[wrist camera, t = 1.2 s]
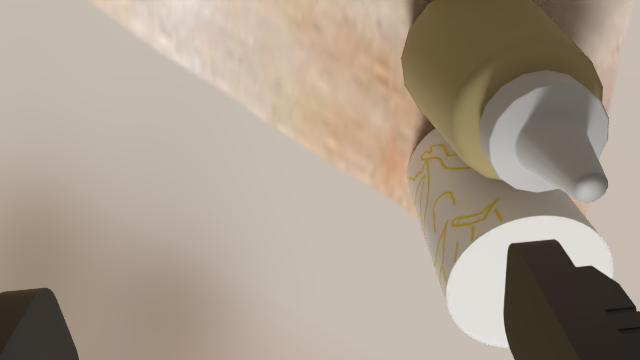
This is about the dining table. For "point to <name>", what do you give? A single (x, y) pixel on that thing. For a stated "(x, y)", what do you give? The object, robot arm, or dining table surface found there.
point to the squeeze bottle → (509, 94)
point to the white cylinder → (488, 233)
